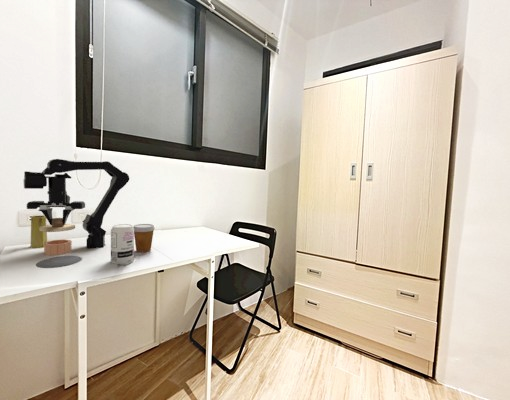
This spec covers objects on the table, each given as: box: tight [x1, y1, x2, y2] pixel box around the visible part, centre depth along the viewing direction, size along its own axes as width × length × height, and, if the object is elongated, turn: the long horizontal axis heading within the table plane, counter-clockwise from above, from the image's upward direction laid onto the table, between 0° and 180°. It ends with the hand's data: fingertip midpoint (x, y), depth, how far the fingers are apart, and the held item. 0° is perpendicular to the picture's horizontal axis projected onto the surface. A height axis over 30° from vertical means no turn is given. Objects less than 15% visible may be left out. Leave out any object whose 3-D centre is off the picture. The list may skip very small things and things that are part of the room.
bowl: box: [43, 238, 73, 256], centre depth 105 cm, size 9×9×5 cm
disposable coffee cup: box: [133, 223, 156, 253], centre depth 115 cm, size 10×10×12 cm
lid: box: [39, 217, 76, 233], centre depth 104 cm, size 12×12×4 cm
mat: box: [35, 255, 83, 269], centre depth 94 cm, size 14×14×1 cm
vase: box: [29, 215, 48, 249], centre depth 112 cm, size 6×6×14 cm
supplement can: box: [110, 223, 135, 266], centre depth 98 cm, size 8×8×15 cm
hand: (57, 224), depth 104 cm, fingers closed on lid, 4 cm apart
